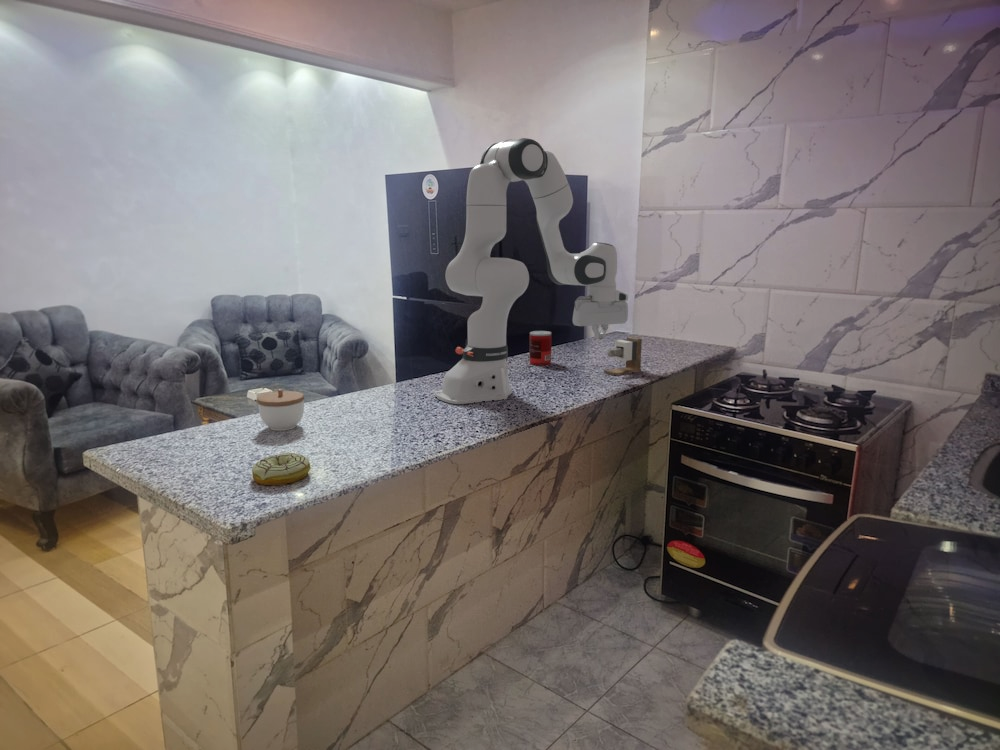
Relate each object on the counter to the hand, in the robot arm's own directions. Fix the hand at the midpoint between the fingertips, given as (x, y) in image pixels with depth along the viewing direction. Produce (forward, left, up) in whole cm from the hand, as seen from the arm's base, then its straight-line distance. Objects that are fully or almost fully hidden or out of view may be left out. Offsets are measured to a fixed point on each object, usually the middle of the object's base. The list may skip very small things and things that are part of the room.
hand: (599, 338), depth 211 cm
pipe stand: (+11, 0, -12) cm, 16 cm away
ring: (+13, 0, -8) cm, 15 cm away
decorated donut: (-109, -33, -13) cm, 115 cm away
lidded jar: (-100, 0, -13) cm, 101 cm away
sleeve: (+11, 0, -8) cm, 13 cm away
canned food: (-3, +27, -13) cm, 30 cm away
